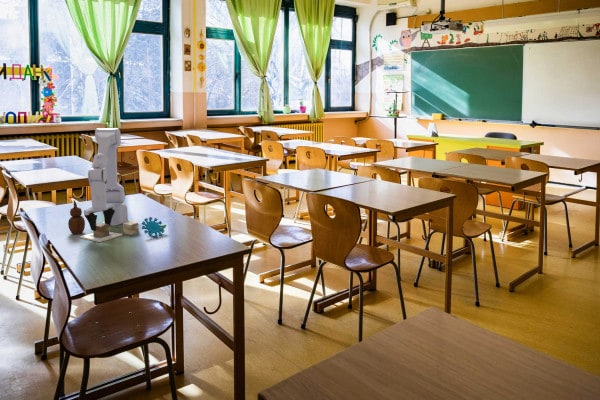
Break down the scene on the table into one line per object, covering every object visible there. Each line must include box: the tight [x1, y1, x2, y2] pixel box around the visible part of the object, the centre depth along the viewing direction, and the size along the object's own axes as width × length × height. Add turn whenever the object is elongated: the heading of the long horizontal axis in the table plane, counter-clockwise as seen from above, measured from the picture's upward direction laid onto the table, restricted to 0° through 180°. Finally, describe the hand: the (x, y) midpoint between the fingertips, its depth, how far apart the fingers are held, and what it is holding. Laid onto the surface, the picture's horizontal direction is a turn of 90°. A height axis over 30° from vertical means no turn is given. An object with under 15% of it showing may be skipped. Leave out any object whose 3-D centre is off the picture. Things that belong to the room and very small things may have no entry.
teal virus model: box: [141, 216, 167, 239], centre depth 238 cm, size 11×6×10 cm
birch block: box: [122, 220, 140, 236], centre depth 241 cm, size 4×4×4 cm
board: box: [79, 231, 123, 243], centre depth 235 cm, size 12×12×1 cm
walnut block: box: [92, 222, 110, 237], centre depth 234 cm, size 4×4×4 cm
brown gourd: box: [67, 200, 86, 235], centre depth 238 cm, size 7×6×15 cm
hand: (100, 228), depth 234 cm, fingers open, 7 cm apart
